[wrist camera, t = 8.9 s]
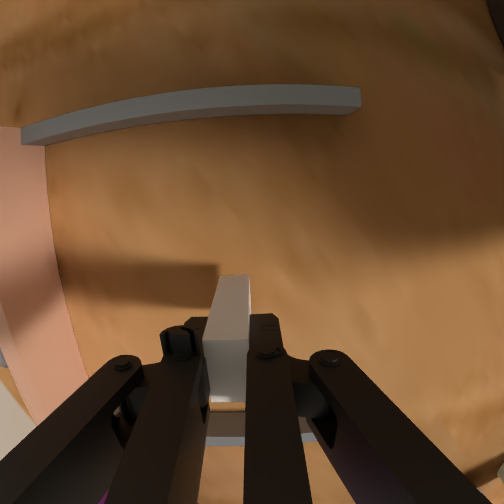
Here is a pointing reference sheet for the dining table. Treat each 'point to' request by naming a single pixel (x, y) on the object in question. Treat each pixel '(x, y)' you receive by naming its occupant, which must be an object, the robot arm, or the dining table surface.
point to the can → (501, 472)
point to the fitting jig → (41, 239)
